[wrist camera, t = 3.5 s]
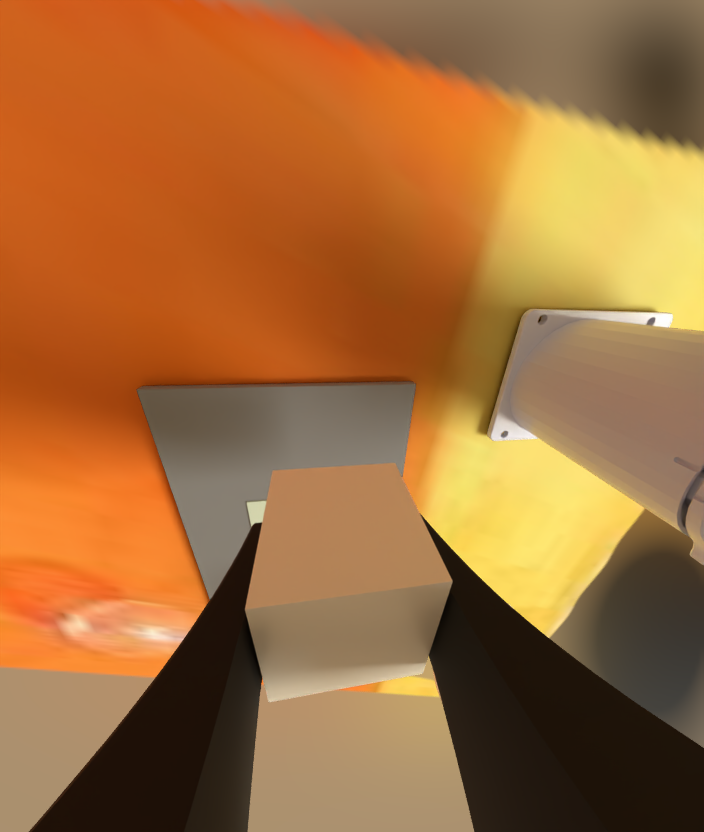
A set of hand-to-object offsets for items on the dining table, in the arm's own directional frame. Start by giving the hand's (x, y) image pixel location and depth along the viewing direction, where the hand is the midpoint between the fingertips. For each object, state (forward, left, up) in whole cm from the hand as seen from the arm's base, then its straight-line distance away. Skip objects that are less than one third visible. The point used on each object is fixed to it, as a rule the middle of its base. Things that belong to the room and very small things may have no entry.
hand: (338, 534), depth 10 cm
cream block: (0, 0, -1) cm, 1 cm away
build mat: (+2, +7, -7) cm, 10 cm away
